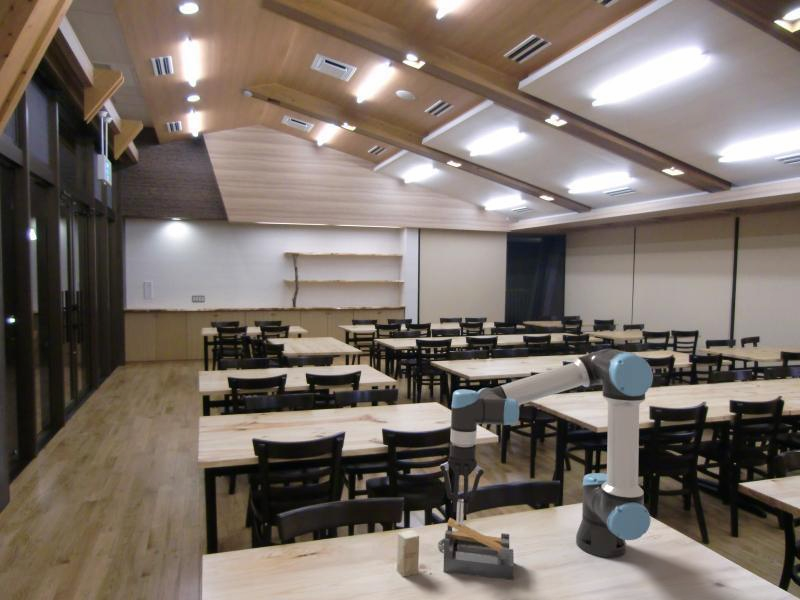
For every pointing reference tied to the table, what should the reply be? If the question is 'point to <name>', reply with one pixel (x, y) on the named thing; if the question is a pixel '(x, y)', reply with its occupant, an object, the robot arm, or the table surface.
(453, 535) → the orange long bar
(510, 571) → the gray cradle frame
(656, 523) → the table surface
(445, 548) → the lug bar
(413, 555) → the box
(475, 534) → the strap near
